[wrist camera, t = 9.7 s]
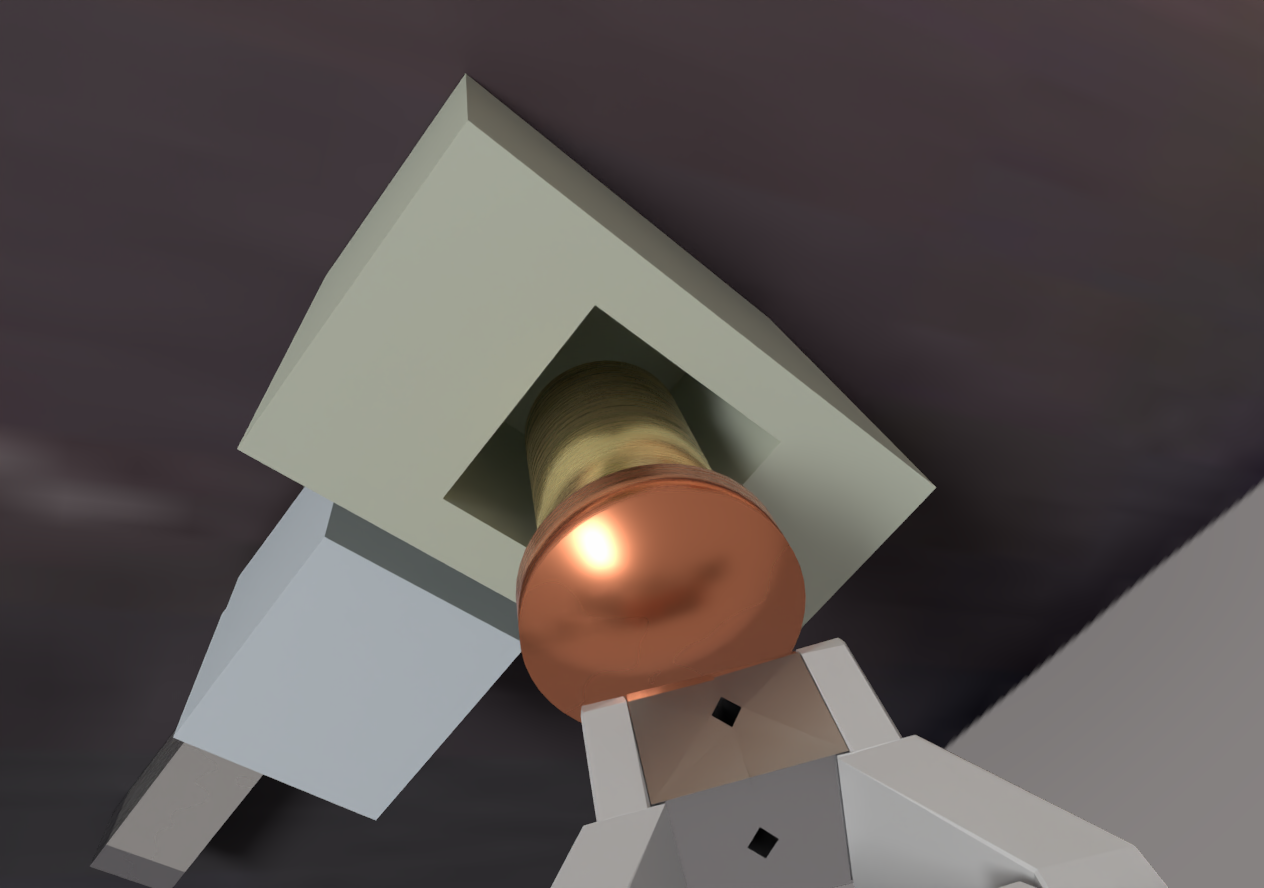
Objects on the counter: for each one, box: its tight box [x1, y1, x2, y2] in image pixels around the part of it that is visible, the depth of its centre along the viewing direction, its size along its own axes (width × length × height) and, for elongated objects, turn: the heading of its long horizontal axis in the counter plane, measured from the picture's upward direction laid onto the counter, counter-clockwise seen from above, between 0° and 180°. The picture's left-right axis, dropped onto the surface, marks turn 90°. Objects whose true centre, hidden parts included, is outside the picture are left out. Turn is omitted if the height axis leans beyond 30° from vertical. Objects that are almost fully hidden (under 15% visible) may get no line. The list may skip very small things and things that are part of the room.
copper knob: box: [516, 360, 806, 723], centre depth 14 cm, size 4×4×6 cm
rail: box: [90, 730, 263, 888], centre depth 26 cm, size 18×2×2 cm, turn 141°
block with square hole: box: [237, 74, 936, 627], centre depth 20 cm, size 6×10×10 cm, turn 51°
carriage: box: [173, 487, 521, 820], centre depth 23 cm, size 6×5×6 cm
